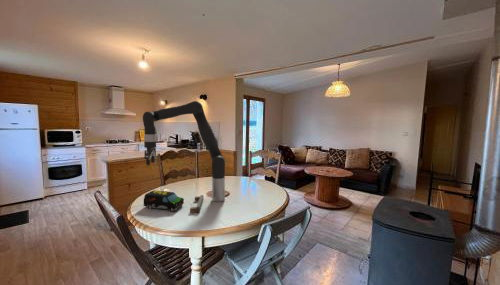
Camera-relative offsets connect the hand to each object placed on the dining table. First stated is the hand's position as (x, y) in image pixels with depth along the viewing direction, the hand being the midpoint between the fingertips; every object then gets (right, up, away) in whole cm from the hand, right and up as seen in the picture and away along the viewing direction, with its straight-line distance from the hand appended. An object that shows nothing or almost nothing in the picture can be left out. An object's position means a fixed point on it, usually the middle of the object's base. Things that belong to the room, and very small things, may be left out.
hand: (150, 163), depth 143 cm
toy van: (+12, -29, -5) cm, 32 cm away
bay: (+33, -29, -2) cm, 44 cm away
